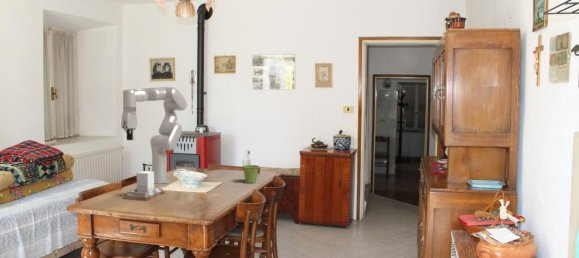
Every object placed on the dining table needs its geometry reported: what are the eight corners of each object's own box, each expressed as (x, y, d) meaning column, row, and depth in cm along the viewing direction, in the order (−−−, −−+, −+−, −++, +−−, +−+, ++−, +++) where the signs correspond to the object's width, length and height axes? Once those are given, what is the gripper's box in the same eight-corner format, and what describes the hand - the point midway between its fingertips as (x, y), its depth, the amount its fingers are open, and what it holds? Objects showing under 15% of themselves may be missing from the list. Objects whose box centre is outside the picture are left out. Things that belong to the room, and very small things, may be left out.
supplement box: (154, 192, 277) (154, 171, 276) (147, 195, 270) (147, 173, 269) (143, 191, 279) (143, 170, 278) (136, 194, 272) (136, 172, 271)
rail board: (144, 191, 285) (144, 185, 285) (164, 193, 282) (164, 186, 282) (124, 198, 266) (124, 191, 266) (146, 200, 263) (146, 193, 262)
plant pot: (258, 184, 315) (258, 167, 314) (241, 183, 315) (241, 167, 314) (260, 181, 327) (260, 165, 326) (243, 180, 327) (243, 164, 326)
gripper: (131, 109, 294) (131, 138, 296) (116, 110, 280) (117, 140, 281) (141, 109, 292) (142, 139, 294) (127, 110, 278) (128, 141, 280)
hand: (129, 139), depth 288 cm, fingers closed
